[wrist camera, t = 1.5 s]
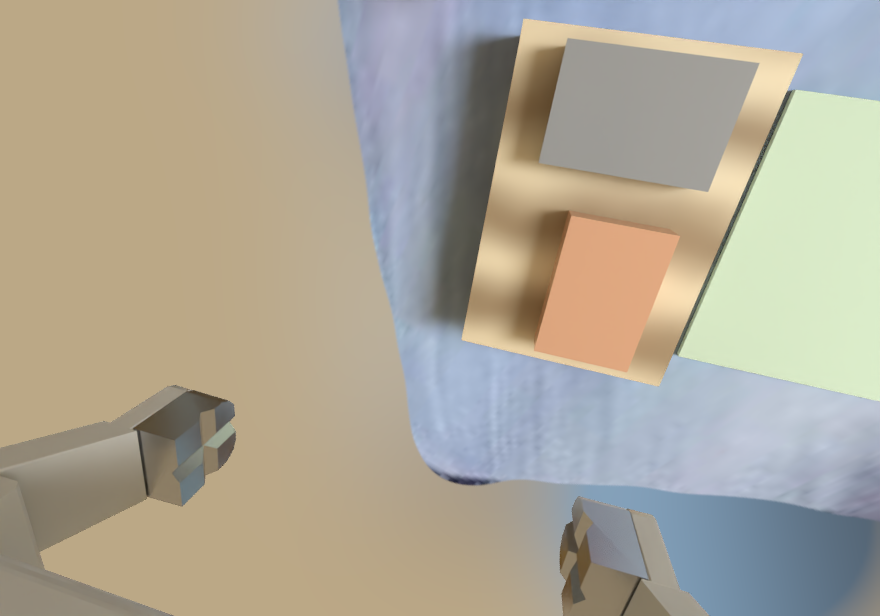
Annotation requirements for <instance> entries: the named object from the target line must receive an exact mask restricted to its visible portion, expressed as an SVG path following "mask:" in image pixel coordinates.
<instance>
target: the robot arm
mask: <svg viewBox="0 0 880 616" xmlns="http://www.w3.org/2000/svg"><path fill="white" fill-rule="evenodd" d="M234 416H235V412H234V404H233V403H231V402H230V401H228V400H225V399H221V398H218V397H214V396H211V395H208V394H205V393H201V392H198V391H195V390H190V389H186V388H183V387H180V386H176V385H173V386H167V387H166V388H164V389H163V390H161V391H160V392H158V393H156V394H155V395H153V396H152V397H150V398H148V399H147V400H145V401H144V402H142V403H141V404H139V405H138V406H136V407H134V408H133V409H131V410H130V411H128V412H126V413H125V414H124V415H122V416H120V417H118V418H117V419H115V420H114V421H112V422H111V423H109V422H105V421H103V422H99V423H95V424H92V425H87V426H83V427H80V428H76V429H72V430H68V431H64V432H61V433H57V434H53V435H49V436H45V437H41V438H37V439H33V440H29V441H26V442H22V443H18V444H14V445H10V446H6V447H2V448H0V616H173V615H170V614H167V613H165V612H162V611H159V610H156V609H153V608H150V607H148V606H145V605H142V604H140V603H136V602H134V601H131V600H128V599H125V598H122V597H120V596H117V595H114V594H112V593H109V592H106V591H103V590H100V589H97V588H95V587H92V586H89V585H86V584H83V583H81V582H78V581H75V580H72V579H70V578H67V577H64V576H61V575H58V574H56V573H53V572H50V571H47V570H45V569H44V565H43V562H42V559H41V556H40V551H42V550H44V549H46V548H49V547H51V546H53V545H55V544H56V543H59V542H61V541H63V540H64V539H67V538H69V537H71V536H73V535H75V534H77V533H79V532H81V531H83V530H85V529H87V528H89V527H91V526H93V525H95V524H97V523H99V522H101V521H103V520H105V519H107V518H109V517H111V516H113V515H116V514H118V513H120V512H122V511H124V510H126V509H128V508H130V507H132V506H133V505H136V504H138V503H140V502H142V501H144V500H146V499H147V497H150V498H154V499H157V500H161V501H164V502H168V503H171V504H175V505H178V506H183V505H184V504H185V503H186V502H187V501H188V500H189V499H190V498H191V497H192V496H193V495H194V494H195V493H196V492H197V491H198V490H199V489H200V488H201V487H202V486H203V485H204V483H205V475H207V474H210V473H212V472H215V471H217V470H219V469H220V468H221V467H222V466H223V465H224V464H225V463H226V461H227V460H228V458H229V457H230V455H231V453H232V451H233V449H234V445H235V441H236V431H235V429H234V428H233V427H232V425H231V423H230V421H231V419H232V418H233V417H234ZM572 518H573V521H572V522H570V523H568V524H566V526H565V530H564V533H563V535H562V540H561V546H560V573H561V574H562V576H563V577H564V579H565V580H566V583H565V586H564V588H563V591H562V606H563V616H709V615H708V614H707V613H706V611H705V610H704V609H703V608H702V607H701V606H700V605H699V604H698V603H697V601H696V600H695V599H694V598H693V597H692V596H691V595H690V594H689V593H688V592H685V591H682V590H680V588H679V585H678V582H677V579H676V576H675V573H674V570H673V568H672V565H671V562H670V559H669V556H668V553H667V550H666V547H665V544H664V541H663V538H662V536H661V533H660V530H659V527H658V524H657V521H656V519H655V518H654V517H653V516H652V515H650V514H646V513H642V512H638V511H634V510H630V509H624V508H621V507H617V506H613V505H610V504H606V503H602V502H599V501H595V500H591V499H587V498H583V497H580V496H579V497H577V499H576V500H575V502H574V505H573V507H572Z"/></svg>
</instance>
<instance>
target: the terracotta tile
mask: <svg viewBox="0 0 880 616" xmlns="http://www.w3.org/2000/svg"><path fill="white" fill-rule="evenodd" d="M679 238H680V236H679V235H678V234H676V233H675V232H673V231H672V230H670V229H667V228H661V227H656V226H650V225H645V224H640V223H634V222H629V221H623V220H618V219H613V218H607V217H602V216H596V215H591V214H586V213H580V212H575V211H570V210H569V212H568V215H567V219H566V223H565V226H564V230H563V234H562V237H561V241H560V245H559V248H558V252H557V256H556V259H555V263H554V267H553V270H552V274H551V278H550V281H549V285H548V289H547V292H546V296H545V300H544V303H543V307H542V311H541V314H540V318H539V322H538V325H537V329H536V333H535V336H534V351H537V352H541V353H546V354H550V355H554V356H558V357H563V358H567V359H571V360H576V361H580V362H584V363H588V364H593V365H597V366H601V367H606V368H610V369H614V370H618V371H623V372H627V371H628V369H629V366H630V364H631V361H632V359H633V356H634V353H635V351H636V348H637V346H638V343H639V341H640V338H641V336H642V333H643V330H644V328H645V325H646V323H647V320H648V318H649V315H650V312H651V310H652V307H653V305H654V302H655V300H656V297H657V295H658V292H659V289H660V287H661V284H662V282H663V279H664V277H665V274H666V271H667V269H668V266H669V264H670V261H671V259H672V256H673V254H674V251H675V248H676V246H677V243H678V241H679Z"/></svg>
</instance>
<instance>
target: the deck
mask: <svg viewBox="0 0 880 616" xmlns="http://www.w3.org/2000/svg"><path fill="white" fill-rule="evenodd" d="M567 38H571V39H579V40H586V41H594V42H602V43H610V44H617V45H625V46H633V47H640V48H648V49H656V50H663V51H671V52H679V53H686V54H694V55H702V56H709V57H717V58H725V59H732V60H740V61H748V62H755V63H760V64H759V66H758V69H757V71H756V74H755V76H754V79H753V81H752V84H751V86H750V89H749V91H748V94H747V96H746V99H745V101H744V104H743V106H742V109H741V111H740V114H739V116H738V119H737V121H736V124H735V126H734V129H733V131H732V134H731V136H730V139H729V141H728V144H727V146H726V149H725V151H724V154H723V156H722V159H721V161H720V164H719V166H718V169H717V171H716V174H715V176H714V179H713V181H712V184H711V186H710V189H709V191H708V192H705V191H699V190H693V189H687V188H681V187H675V186H670V185H664V184H658V183H652V182H646V181H641V180H635V179H629V178H623V177H617V176H611V175H606V174H600V173H594V172H588V171H582V170H576V169H571V168H565V167H559V166H553V165H547V164H542V163H538V161H539V156H540V152H541V148H542V143H543V139H544V135H545V130H546V126H547V122H548V118H549V113H550V109H551V105H552V100H553V96H554V92H555V87H556V83H557V79H558V75H559V70H560V66H561V62H562V57H563V53H564V49H565V45H566V42H567ZM802 55H803V54H801V53H793V52H785V51H777V50H769V49H761V48H753V47H745V46H737V45H729V44H721V43H714V42H706V41H698V40H690V39H682V38H674V37H666V36H658V35H650V34H642V33H634V32H626V31H618V30H610V29H602V28H594V27H586V26H578V25H570V24H562V23H554V22H547V21H539V20H531V19H524V20H523V25H522V30H521V35H520V40H519V46H518V51H517V56H516V61H515V66H514V71H513V77H512V82H511V87H510V92H509V97H508V102H507V108H506V113H505V118H504V123H503V128H502V133H501V139H500V144H499V149H498V154H497V159H496V164H495V170H494V175H493V180H492V185H491V190H490V195H489V201H488V206H487V211H486V216H485V221H484V226H483V232H482V237H481V242H480V247H479V252H478V257H477V263H476V268H475V273H474V278H473V283H472V288H471V293H470V299H469V304H468V309H467V314H466V319H465V324H464V330H463V335H462V340H463V341H468V342H472V343H476V344H480V345H485V346H489V347H493V348H497V349H502V350H506V351H510V352H514V353H519V354H523V355H527V356H531V357H536V358H540V359H544V360H548V361H553V362H557V363H561V364H565V365H570V366H574V367H578V368H582V369H587V370H591V371H595V372H599V373H604V374H608V375H612V376H616V377H621V378H625V379H629V380H633V381H638V382H642V383H646V384H650V385H655V386H659V385H660V383H661V380H662V378H663V376H664V373H665V371H666V369H667V366H668V364H669V362H670V360H671V357H672V355H673V353H674V350H675V348H676V346H677V343H678V341H679V339H680V336H681V334H682V332H683V330H684V327H685V325H686V323H687V320H688V318H689V316H690V313H691V311H692V309H693V307H694V304H695V302H696V300H697V297H698V295H699V293H700V290H701V288H702V286H703V283H704V281H705V279H706V277H707V274H708V272H709V270H710V267H711V265H712V263H713V260H714V258H715V256H716V253H717V251H718V249H719V247H720V244H721V242H722V240H723V237H724V235H725V233H726V230H727V228H728V226H729V224H730V221H731V219H732V217H733V214H734V212H735V210H736V207H737V205H738V203H739V200H740V198H741V196H742V194H743V191H744V189H745V187H746V184H747V182H748V180H749V177H750V175H751V173H752V170H753V168H754V166H755V164H756V161H757V159H758V157H759V154H760V152H761V150H762V147H763V145H764V143H765V141H766V138H767V136H768V134H769V131H770V129H771V127H772V124H773V122H774V120H775V117H776V115H777V113H778V111H779V108H780V106H781V104H782V101H783V99H784V97H785V94H786V92H787V90H788V87H789V85H790V83H791V81H792V78H793V76H794V74H795V71H796V69H797V67H798V64H799V62H800V60H801V57H802ZM569 210H570V211H575V212H580V213H586V214H591V215H596V216H602V217H607V218H613V219H618V220H623V221H629V222H634V223H640V224H645V225H650V226H656V227H661V228H667V229H670V230H672V231H673V232H675V233H676V234H678V235H679V236H680V238H679V241H678V243H677V246H676V248H675V251H674V254H673V256H672V259H671V261H670V264H669V266H668V269H667V271H666V274H665V277H664V279H663V282H662V284H661V287H660V289H659V292H658V295H657V297H656V300H655V302H654V305H653V307H652V310H651V312H650V315H649V318H648V320H647V323H646V325H645V328H644V330H643V333H642V336H641V338H640V341H639V343H638V346H637V348H636V351H635V353H634V356H633V359H632V361H631V364H630V366H629V369H628V371H627V372H623V371H618V370H614V369H610V368H606V367H601V366H597V365H593V364H588V363H584V362H580V361H576V360H571V359H567V358H563V357H558V356H554V355H550V354H546V353H541V352H537V351H534V336H535V333H536V329H537V325H538V322H539V318H540V314H541V311H542V307H543V303H544V300H545V296H546V292H547V289H548V285H549V281H550V278H551V274H552V270H553V267H554V263H555V259H556V256H557V252H558V248H559V245H560V241H561V237H562V234H563V230H564V226H565V223H566V219H567V215H568V212H569Z"/></svg>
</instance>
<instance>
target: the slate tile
mask: <svg viewBox="0 0 880 616" xmlns="http://www.w3.org/2000/svg"><path fill="white" fill-rule="evenodd" d="M759 64H760V63H755V62H748V61H740V60H732V59H725V58H717V57H709V56H702V55H694V54H686V53H679V52H671V51H663V50H656V49H648V48H640V47H633V46H625V45H617V44H610V43H602V42H594V41H586V40H579V39H571V38H567V42H566V45H565V49H564V53H563V57H562V62H561V66H560V70H559V75H558V79H557V83H556V87H555V92H554V96H553V100H552V105H551V109H550V113H549V118H548V122H547V126H546V130H545V135H544V139H543V143H542V148H541V152H540V156H539V161H538V163H542V164H547V165H553V166H559V167H565V168H571V169H576V170H582V171H588V172H594V173H600V174H606V175H611V176H617V177H623V178H629V179H635V180H641V181H646V182H652V183H658V184H664V185H670V186H675V187H681V188H687V189H693V190H699V191H705V192H708V191H709V189H710V186H711V184H712V181H713V179H714V176H715V174H716V171H717V169H718V166H719V164H720V161H721V159H722V156H723V154H724V151H725V149H726V146H727V144H728V141H729V139H730V136H731V134H732V131H733V129H734V126H735V124H736V121H737V119H738V116H739V114H740V111H741V109H742V106H743V104H744V101H745V99H746V96H747V94H748V91H749V89H750V86H751V84H752V81H753V79H754V76H755V74H756V71H757V69H758V66H759Z"/></svg>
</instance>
